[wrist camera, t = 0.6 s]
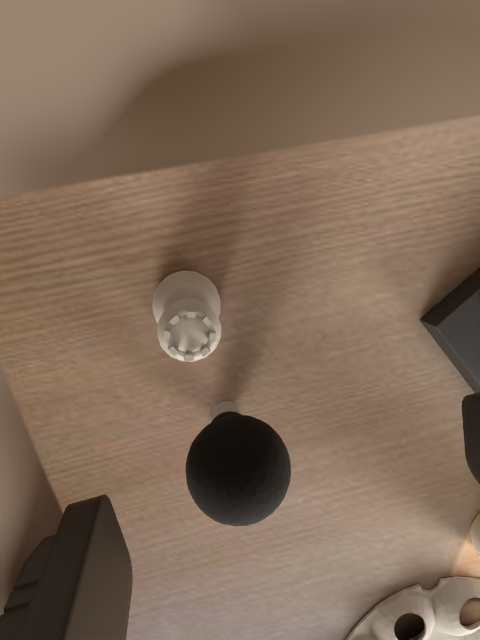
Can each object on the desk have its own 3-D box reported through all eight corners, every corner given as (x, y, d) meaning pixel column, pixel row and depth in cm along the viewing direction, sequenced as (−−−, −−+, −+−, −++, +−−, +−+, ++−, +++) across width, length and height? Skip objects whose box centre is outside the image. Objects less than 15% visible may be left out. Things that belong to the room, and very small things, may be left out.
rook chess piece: (231, 313, 29) (251, 350, 21) (175, 346, 29) (174, 395, 21) (198, 256, 27) (206, 273, 20) (139, 291, 27) (124, 321, 20)
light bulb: (257, 365, 30) (295, 437, 20) (269, 438, 31) (310, 536, 22) (176, 383, 29) (175, 465, 20) (192, 455, 31) (199, 564, 21)
